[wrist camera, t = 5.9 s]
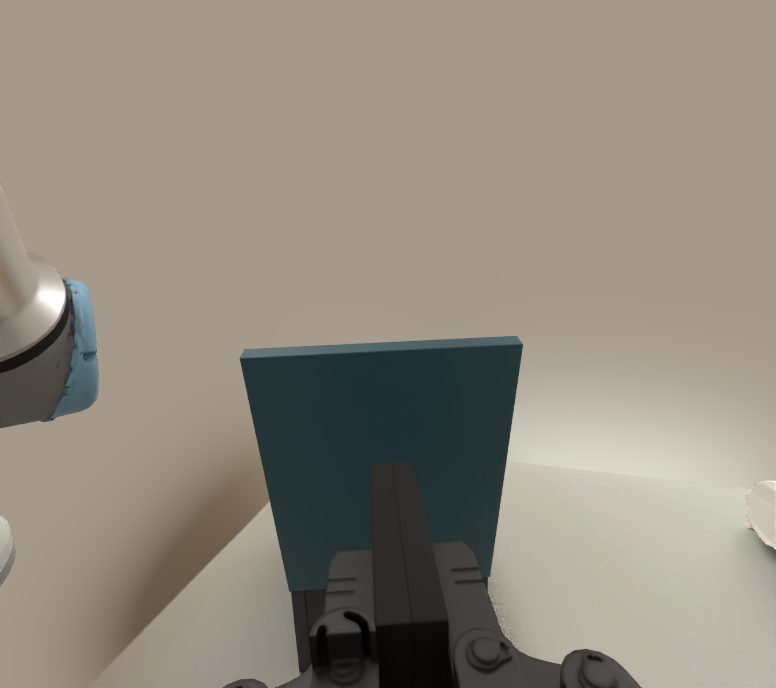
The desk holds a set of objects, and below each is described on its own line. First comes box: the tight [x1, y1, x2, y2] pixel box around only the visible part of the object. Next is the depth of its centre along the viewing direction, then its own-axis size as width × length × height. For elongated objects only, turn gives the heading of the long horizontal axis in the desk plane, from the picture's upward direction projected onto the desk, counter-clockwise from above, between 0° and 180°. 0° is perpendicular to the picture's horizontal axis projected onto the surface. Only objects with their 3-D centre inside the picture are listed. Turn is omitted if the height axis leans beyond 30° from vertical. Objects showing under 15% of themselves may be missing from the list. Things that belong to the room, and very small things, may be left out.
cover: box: [240, 336, 523, 592], centre depth 22 cm, size 15×12×1 cm
